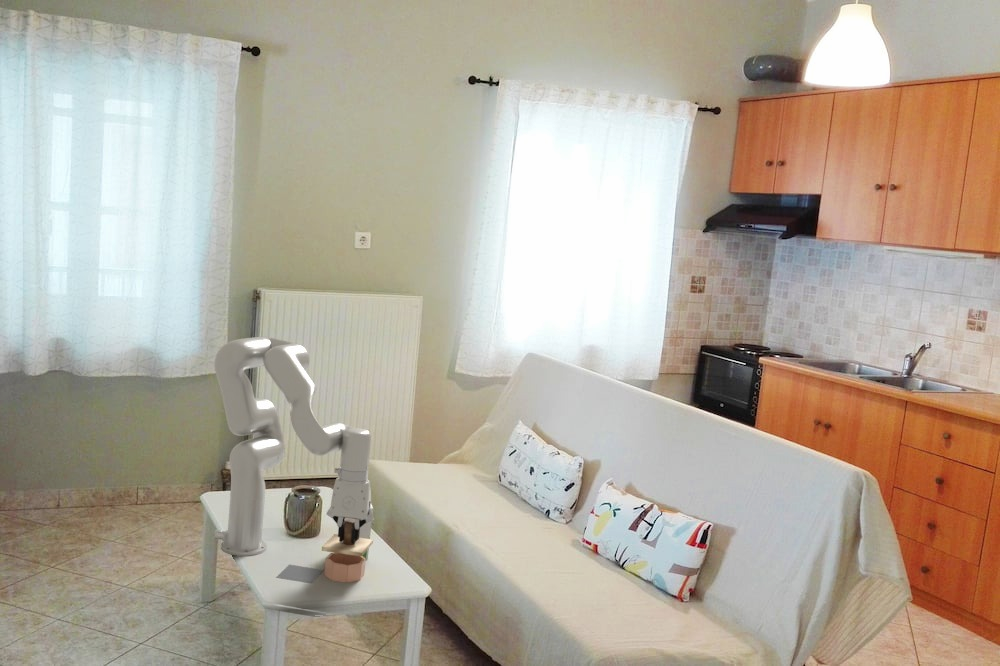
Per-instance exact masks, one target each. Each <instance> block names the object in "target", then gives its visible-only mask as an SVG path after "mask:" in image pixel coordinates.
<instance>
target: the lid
mask: <svg viewBox="0 0 1000 666" xmlns="http://www.w3.org/2000/svg"><path fill="white" fill-rule="evenodd" d="M354 526H355V521H353V520H346V521H345V522H344V534H343V541H342V542H339V538H340V537H338V533H337V534H335V533H334V534H333V535H332V536H331V537H330V538H329V540H327V541H326V542H325V543H324V544H323V545H322V546H321V551H323V552H329V553H334V552H335V553H342V554H349V555H355V556H363V554H364V553H365V552H366V551H367V550H368V548H369V549H370V547H371V546H372V545H373V542H374V539H373V538H372V539H371V538H370V539H365V538H359V539H358V540H357V541H356V542H355V543H352V531H353V529H354Z"/></svg>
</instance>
